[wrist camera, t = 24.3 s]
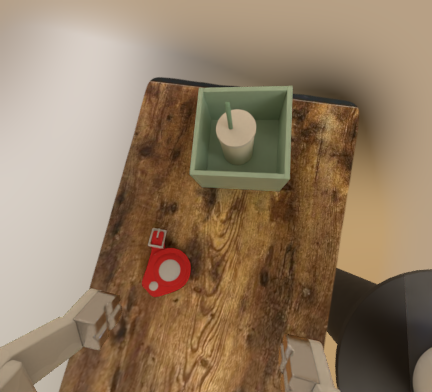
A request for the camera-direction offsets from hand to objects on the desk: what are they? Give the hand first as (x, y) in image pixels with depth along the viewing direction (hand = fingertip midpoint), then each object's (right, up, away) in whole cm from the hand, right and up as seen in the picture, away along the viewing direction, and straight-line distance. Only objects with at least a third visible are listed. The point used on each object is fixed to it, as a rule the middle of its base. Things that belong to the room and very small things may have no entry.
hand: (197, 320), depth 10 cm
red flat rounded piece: (-8, -7, +31) cm, 33 cm away
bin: (+6, +15, +32) cm, 36 cm away
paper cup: (+5, +15, +32) cm, 36 cm away
